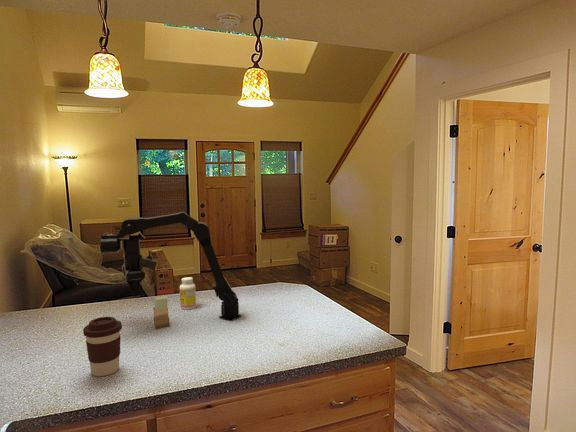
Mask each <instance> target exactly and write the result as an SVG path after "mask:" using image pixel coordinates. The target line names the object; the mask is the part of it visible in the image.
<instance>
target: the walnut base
mask: <svg viewBox="0 0 576 432" xmlns="http://www.w3.org/2000/svg"><path fill="white" fill-rule="evenodd" d="M153 326H154V329H155V330H159V329H164V328H170V327H171V326H170V317H169V315H168V318H164V319H158V320H156V319H155V317H154V316H153Z"/></svg>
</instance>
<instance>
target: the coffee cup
mask: <svg viewBox="0 0 576 432" xmlns="http://www.w3.org/2000/svg"><path fill="white" fill-rule="evenodd" d="M122 328H123V324H122V321H120V320H118V319H116V318H115V317H113V316H101V317H97V318H94V319H92V320H90V321H89V322H88V324H87V325H86V326H84V327H83V329H82V333H83V334H82V335H83V336H84V337H85V339H86V341H85V344H86V351H87V359H88V361H89V365H90V373H91V375H93V376H95V377H106V376H110V375H112V374H114V373H115V372H117V371H118V370H119V369H120V355H121V333H120V331H121V330H122Z"/></svg>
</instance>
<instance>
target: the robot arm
mask: <svg viewBox="0 0 576 432" xmlns="http://www.w3.org/2000/svg"><path fill="white" fill-rule="evenodd" d="M174 224H182V225H183V226H185V227H186V228H187V229H189V230H190V231H191V232H193V235H194V236H195V238H196V239H197V242H198V243H199V244H200V247H201V248H202V250H203V252H204V255H205V258H206V260H207V263H208V265H209V268H210V271H211V273H212V275H213V277H214V283H213V282H212V283H211V285H212V288H213V290H214V292H215V296H216V298H218V299H219V300H220V301H221V305H220V312H221V315H220V316H219V318H218V319H223V320H225V321H230V322H231V321H234V320H236V319H238V318H240V317H242V314H241V313H240V312H239V311H240V308H239V307H240V305H239V298H238V295H237V293H235V291H233V290H232V287H231V285H230V283H229V282H228V280H227V279H226V277H225V276H224V274H223V272H222V268H221V266H220V263H219V260H218V258H217V256H216V253H215V249H214V247H213V245H212V240H211V233H210V229H209V228H210V227H208V224H207V223H206V222H204V221H198V220H197V219H195V218H194V217H192V216H190V215H189V214H188V213H186V212H185V211H180V212H177V213H171V214H164V215H157V216H152V217H128V218H126V219H124V220H123V221H122V223H121V227H120V228H121V229H120V231H118V232H117V234H102V235H101V236H100V237H101V239H100V244H99V249H100V254H118V253H119V252H120V251H122V250H123V254H122V255H123V257H122V258H123V264H122V266H121V267H122V268H121V269H122V270H121V271H122V273H123V276H124V278H125V281H126V283H127V285H128V287H129V289H130V291H131V293H132V296H133V297H138V293H139V288H140V284H141V282H142V281H144V280H145V279H146V273H145V271H144V270H143V269H144V268H145V269H149V270H152V271H155V270H156V267H157V265H158V261H157V260H156V259H153V256H152V255H146V257H144V256H143V255H142V254H141V241H144V240H145V239H146V236H145V235H143V234H142V233H141V232H142V231H145V230H148V229H151V228H156V227H157V228H158V227H163V226H169V225H174ZM127 235H128V237H127ZM125 236H126V237H125Z"/></svg>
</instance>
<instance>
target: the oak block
mask: <svg viewBox="0 0 576 432" xmlns="http://www.w3.org/2000/svg"><path fill="white" fill-rule="evenodd" d="M168 316H169V307H167V309H162V310H156V309H155V306H154V307H153V318H154V317H155V319H156V320H158V319H164V318H168Z"/></svg>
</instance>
